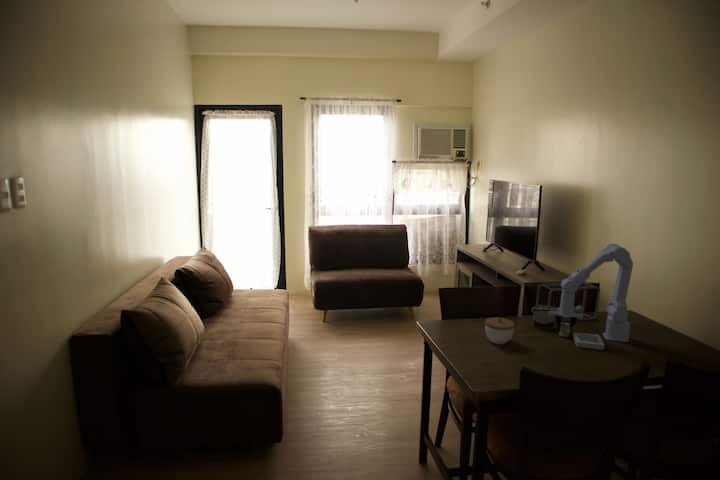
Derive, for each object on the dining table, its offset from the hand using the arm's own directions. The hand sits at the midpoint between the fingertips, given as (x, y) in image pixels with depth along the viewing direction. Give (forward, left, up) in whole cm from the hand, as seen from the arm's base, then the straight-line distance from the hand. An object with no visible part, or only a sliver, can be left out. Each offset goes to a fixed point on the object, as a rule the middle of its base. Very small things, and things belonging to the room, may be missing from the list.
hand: (564, 331), depth 226 cm
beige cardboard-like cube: (0, 0, -1) cm, 1 cm away
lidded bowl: (+30, +18, -2) cm, 35 cm away
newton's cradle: (-4, -26, -2) cm, 26 cm away
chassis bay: (-9, +8, -1) cm, 12 cm away
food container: (+9, -9, -2) cm, 13 cm away
